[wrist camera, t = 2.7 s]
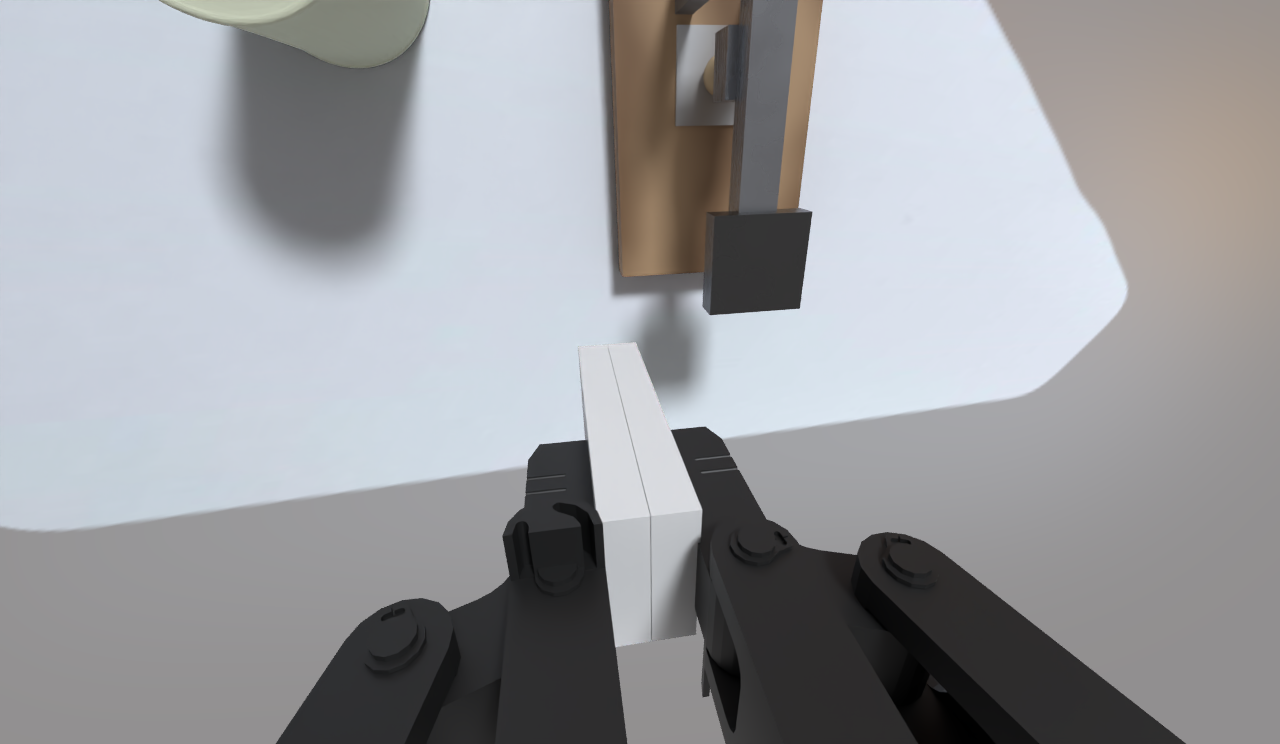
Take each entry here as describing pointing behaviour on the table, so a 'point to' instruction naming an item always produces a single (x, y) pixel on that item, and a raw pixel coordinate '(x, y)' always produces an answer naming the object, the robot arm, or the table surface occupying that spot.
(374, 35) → the can
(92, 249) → the table surface
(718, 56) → the lever
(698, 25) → the base
